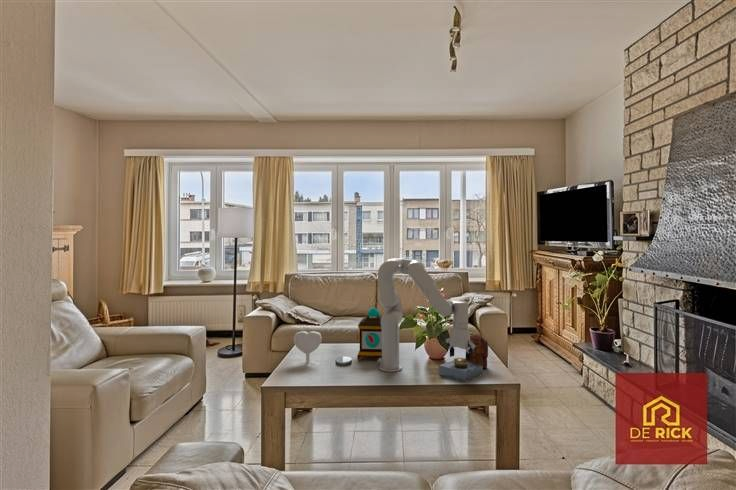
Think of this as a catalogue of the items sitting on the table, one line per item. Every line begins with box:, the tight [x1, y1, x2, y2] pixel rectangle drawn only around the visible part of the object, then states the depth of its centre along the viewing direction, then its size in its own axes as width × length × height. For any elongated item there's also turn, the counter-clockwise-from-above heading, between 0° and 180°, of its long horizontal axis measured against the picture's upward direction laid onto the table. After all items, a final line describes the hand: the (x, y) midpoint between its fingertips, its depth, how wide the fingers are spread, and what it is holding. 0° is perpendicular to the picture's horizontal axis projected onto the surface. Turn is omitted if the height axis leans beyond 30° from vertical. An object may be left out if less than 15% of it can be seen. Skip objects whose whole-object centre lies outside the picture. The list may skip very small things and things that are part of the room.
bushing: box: [453, 357, 467, 367], centre depth 219 cm, size 7×7×8 cm
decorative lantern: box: [356, 307, 382, 362], centre depth 252 cm, size 20×20×30 cm
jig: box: [438, 359, 484, 383], centre depth 219 cm, size 16×16×5 cm
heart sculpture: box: [293, 330, 323, 366], centre depth 240 cm, size 16×5×18 cm, turn 87°
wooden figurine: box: [465, 334, 489, 369], centre depth 231 cm, size 12×6×18 cm, turn 79°
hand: (459, 358), depth 219 cm, fingers open, 9 cm apart
